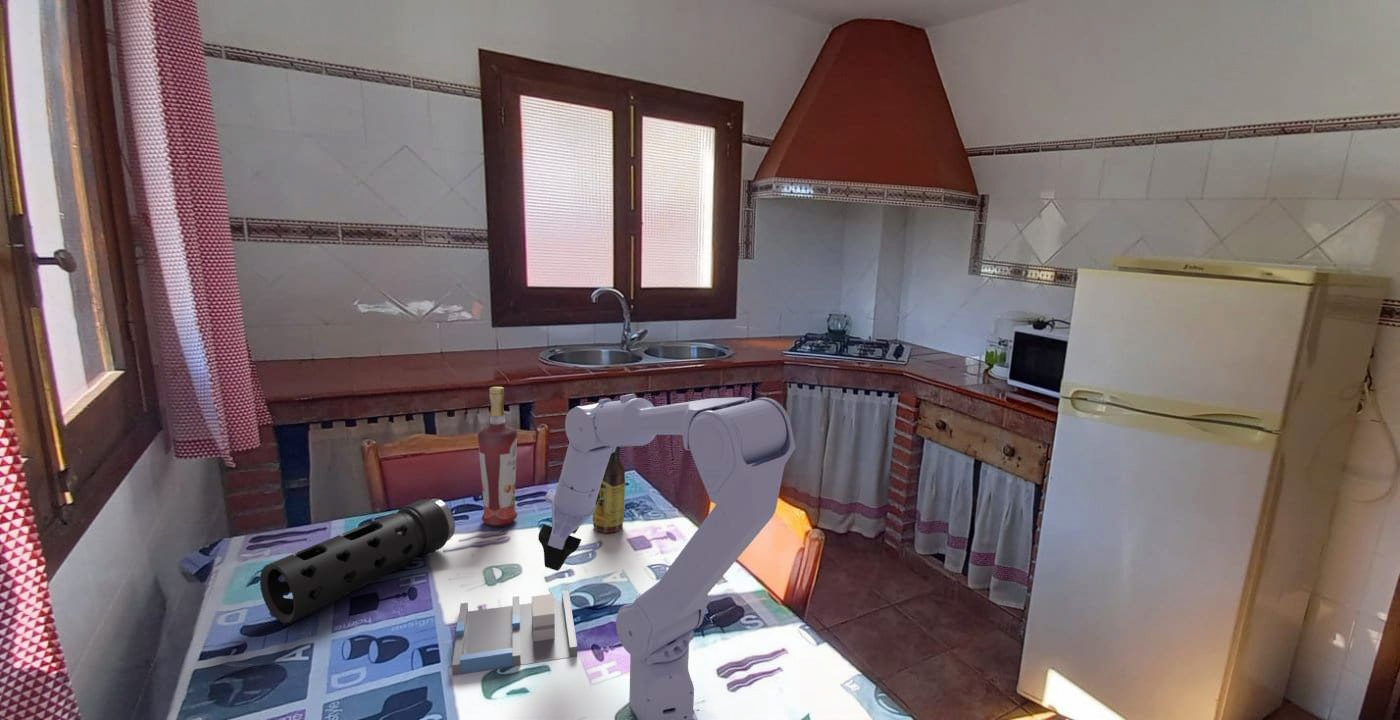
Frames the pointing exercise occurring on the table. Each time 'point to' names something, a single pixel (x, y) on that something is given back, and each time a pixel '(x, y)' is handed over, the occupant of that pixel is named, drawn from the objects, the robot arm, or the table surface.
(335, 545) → the muzzle brake
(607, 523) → the sauce bottle
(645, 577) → the table surface
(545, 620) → the beige rectangular box
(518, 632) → the board
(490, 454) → the liquor
